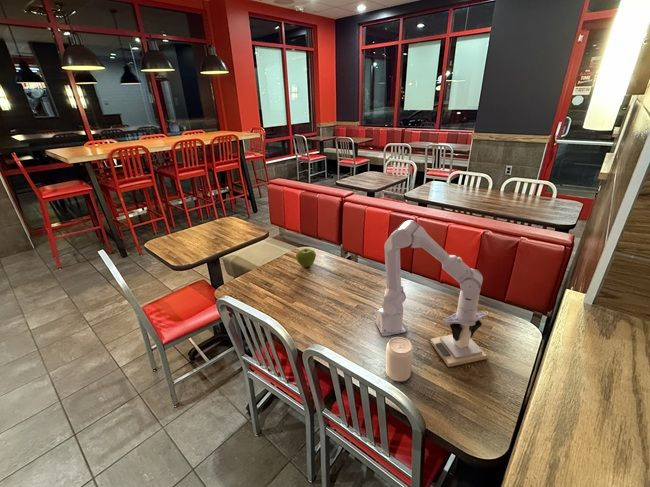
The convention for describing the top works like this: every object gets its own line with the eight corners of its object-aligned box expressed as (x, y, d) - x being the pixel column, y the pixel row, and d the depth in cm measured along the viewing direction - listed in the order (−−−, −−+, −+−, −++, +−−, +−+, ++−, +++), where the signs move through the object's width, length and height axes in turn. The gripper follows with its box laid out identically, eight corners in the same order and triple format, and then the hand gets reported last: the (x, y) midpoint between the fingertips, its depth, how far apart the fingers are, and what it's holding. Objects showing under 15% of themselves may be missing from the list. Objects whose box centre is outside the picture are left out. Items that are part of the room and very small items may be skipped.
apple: (294, 270, 166) (293, 253, 162) (299, 260, 176) (297, 244, 171) (314, 270, 164) (313, 254, 160) (318, 261, 174) (317, 245, 170)
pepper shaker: (461, 349, 106) (465, 328, 102) (452, 342, 109) (455, 321, 105) (469, 345, 108) (473, 323, 104) (460, 338, 111) (463, 317, 107)
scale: (448, 367, 103) (449, 361, 102) (430, 342, 114) (430, 336, 112) (485, 359, 105) (487, 353, 104) (464, 335, 116) (465, 329, 115)
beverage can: (382, 364, 105) (383, 336, 100) (406, 361, 106) (408, 334, 101) (389, 384, 98) (390, 355, 93) (414, 381, 98) (417, 352, 93)
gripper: (454, 316, 97) (449, 349, 102) (495, 309, 99) (488, 341, 105) (442, 303, 103) (437, 335, 109) (481, 296, 105) (474, 328, 111)
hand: (461, 337), depth 107 cm, fingers closed on pepper shaker, 4 cm apart
